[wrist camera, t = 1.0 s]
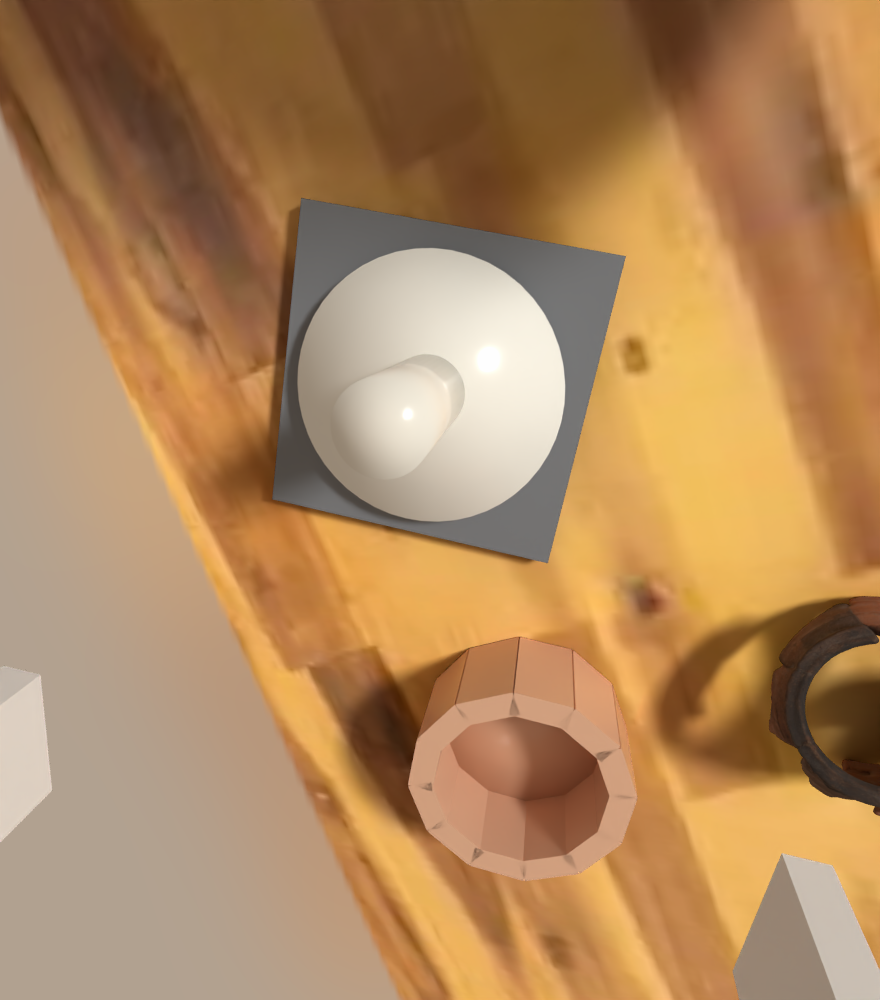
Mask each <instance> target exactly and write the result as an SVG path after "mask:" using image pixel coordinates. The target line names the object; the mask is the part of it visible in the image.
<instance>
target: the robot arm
mask: <svg viewBox="0 0 880 1000" xmlns="http://www.w3.org/2000/svg"><path fill="white" fill-rule="evenodd" d="M51 791H52V784H51V774H50V764H49V755H48V744H47V734H46V724H45V715H44V705H43V695H42V685H41V675H40V674H35V673H31V672H28V671H23V670H19V669H15V668H11V667H6V666H2V667H1V668H0V842H1V841H2V840H3V839H4V838H5V837H6V836H7V835H8V834H9V833H10V832H11V831H12V830H13V829H14V828H15V827H16V826H17V825H18V824H19V823H20V822H21V821H22V820H23V819H24V818H25V817H26V816H27V815H28V814H29V813H30V812H31V811H32V810H33V809H34V808H35V807H36V806H37V805H38V804H39V803H40V802H41V801H42V800H43V799H44V798H45V797H46V796H47V795H48V794H49V793H50V792H51ZM733 975H734V979H735V983H736V987H737V992H738V996H739V1000H880V970H879V968H878V966H877V963H876V961H875V959H874V957H873V954H872V952H871V950H870V948H869V946H868V943H867V941H866V939H865V937H864V934H863V932H862V930H861V928H860V925H859V923H858V921H857V919H856V917H855V914H854V912H853V910H852V908H851V905H850V903H849V901H848V899H847V896H846V894H845V892H844V890H843V888H842V885H841V883H840V881H839V879H838V876H837V874H836V872H835V870H834V867H833V866H832V865H828V864H824V863H820V862H816V861H812V860H807V859H803V858H799V857H795V856H791V855H787V854H783V853H782V854H781V857H780V859H779V861H778V864H777V866H776V869H775V871H774V873H773V876H772V878H771V881H770V883H769V885H768V888H767V890H766V893H765V895H764V897H763V900H762V902H761V905H760V907H759V909H758V912H757V914H756V916H755V919H754V921H753V924H752V926H751V928H750V931H749V933H748V936H747V938H746V940H745V943H744V945H743V948H742V950H741V952H740V955H739V957H738V960H737V962H736V964H735V967H734V969H733Z"/></svg>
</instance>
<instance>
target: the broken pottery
mask: <svg viewBox="0 0 880 1000" xmlns="http://www.w3.org/2000/svg"><path fill="white" fill-rule="evenodd" d="M876 635H878V636H880V597H868V596H862V597H857V598H855V599H850V600H849V605H848V604H838V605H835V606H833V607H832V608H830V609H829V610H827V611H825V612H824V613H822V614H820V615H819V616H818V617H816V618H815V619H814V620H812V621H811V622H810V623H808V624H807V625H806V626H805V627H803V628H802V629H801V630H800V631H799V632H798V633H797V634H796V635H795V636H794V637H793V638H792V639H791V641H790V642H789V643H788V644H787V646H786V647H785V648H784V649H783V651H782V652H781V654H780V656H779V659H780V661H781V663H782V664H783V665H782V667H780V668H779V669H777V670H775V671H774V673H773V678H772V685H771V692H772V695H771V700H772V704H771V717H770V720H769V730H770V732H772V733H773V734H775V735H776V736H777V737H778V738H780V739H781V740H782V741H784V742H786V743H788V744H790V745H792V746H794V747H795V748H797V749H798V751H799V753H800V754H801V756H802V757H803V758H802V760H801V764H802V769H803V771H804V773H805V774H806V775H807V776H808V777H809V782H810V784H811V785H812V786H813V787H815V788H816V789H818V790H819V791H821V792H822V793H824V794H825V795H827V796H829V797H839V798H843V799H850V800H857V801H859V802H862V803H865V804H868V805H872V806H875V808H874V810H873V812H874V813H875V814H876V815H879V816H880V765H878V764H867V763H860V762H856V761H852V760H847V759H845V760H843V762H842V766H843V770H842V769H841V768H839V767H838V766H837V765H835V764H834V763H833V762H832V761H831V760H830V759H829V758H827V757H826V756H825V754H824V753H823V752H822V751H821V750H820V748H819V747H818V746H817V745H816V744H815V742H814V739H813V737H812V735H811V733H810V730H809V728H808V724H807V721H806V715H805V700H806V694H807V691H808V688H809V685H810V683H811V681H812V679H813V677H814V676H815V675H816V673H817V672H818V671H819V670H820V668H821V667H822V666H823V665H824V664H825V663H826V662H828V661H829V660H830V659H831V658H833V657H834V656H836V655H838V654H839V653H842V652H844V651H846V650H849V649H851V648H854V647H858V646H863V645H869V644H876V643H878V642H879V639H878V637H877V636H876Z"/></svg>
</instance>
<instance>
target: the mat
mask: <svg viewBox="0 0 880 1000" xmlns="http://www.w3.org/2000/svg"><path fill="white" fill-rule="evenodd" d="M416 248H437V249H446V250H453V251H457V252H461V253H465V254H469V255H471V256H474V257H476V258H479V259H481V260H483V261H486V262H488V263H490V264H492V265H494V266H495V267H497V268H499V269H501V270H502V271H504V272H506V273H507V274H508V275H509V276H511V277H512V278H513V279H514V280H516V281H517V282H518V283H519V284H521V285H522V286H523V288H524V289H525V290H526V291H527V292H528V293H529V294H530V295H531V296H532V297H533V298H534V300H535V301H536V302H537V304H538V305H539V306H540V308H541V309H542V311H543V312H544V314H545V315H546V317H547V319H548V321H549V323H550V325H551V327H552V328H553V331H554V334H555V336H556V339H557V342H558V344H559V347H560V352H561V356H562V360H563V366H564V376H565V404H564V409H563V415H562V421H561V424H560V428H559V431H558V434H557V437H556V440H555V442H554V444H553V446H552V448H551V450H550V453H549V455H548V456H547V458H546V459H545V461H544V462H543V464H542V466H541V467H540V469H539V470H538V471H537V472H536V474H535V475H534V476H533V477H532V478H531V479H530V481H529V482H528V483H527V484H526V485H525V486H524V487H522V488H521V489H520V490H519V491H518V492H517V493H516V494H515V495H513V496H512V497H510V498H509V499H507V500H506V501H504V502H503V503H501V504H500V505H498V506H496V507H494V508H492V509H490V510H488V511H486V512H483V513H480V514H477V515H474V516H472V517H467V518H463V519H458V520H452V521H440V522H434V521H419V520H413V519H407V518H403V517H399V516H396V515H393V514H389V513H387V512H385V511H383V510H380V509H378V508H376V507H374V506H372V505H370V504H369V503H367V502H365V501H363V500H362V499H360V498H359V497H357V496H356V495H355V494H353V493H352V492H351V491H350V490H348V489H347V488H346V487H345V486H344V485H343V484H342V483H341V482H340V481H339V480H338V479H337V478H336V477H335V476H334V475H333V474H332V473H331V471H330V470H329V469H328V468H327V467H326V465H325V464H324V463H323V461H322V459H321V458H320V456H319V455H318V453H317V452H316V450H315V448H314V446H313V444H312V442H311V440H310V438H309V435H308V433H307V430H306V427H305V424H304V421H303V418H302V414H301V409H300V404H299V397H298V385H297V382H298V364H299V358H300V352H301V348H302V344H303V341H304V338H305V334H306V332H307V329H308V327H309V325H310V323H311V321H312V318H313V316H314V315H315V313H316V311H317V310H318V308H319V307H320V305H321V303H322V302H323V301H324V299H325V298H326V297H327V296H328V294H329V293H330V292H331V291H332V290H333V288H334V287H335V286H337V285H338V284H339V283H340V282H341V281H342V280H343V279H344V278H345V277H346V276H348V275H349V274H351V273H352V272H353V271H355V270H356V269H358V268H359V267H361V266H362V265H364V264H366V263H368V262H370V261H372V260H374V259H376V258H378V257H381V256H384V255H387V254H391V253H394V252H397V251H403V250H409V249H416ZM625 257H626V256H621V255H616V254H610V253H605V252H599V251H594V250H588V249H582V248H577V247H571V246H566V245H560V244H555V243H549V242H543V241H538V240H532V239H527V238H521V237H516V236H510V235H505V234H499V233H493V232H488V231H482V230H477V229H471V228H466V227H460V226H454V225H449V224H443V223H438V222H432V221H427V220H421V219H415V218H410V217H404V216H399V215H393V214H388V213H382V212H376V211H371V210H365V209H360V208H354V207H349V206H343V205H338V204H332V203H326V202H321V201H315V200H310V199H304V198H301V206H300V217H299V227H298V237H297V248H296V258H295V269H294V279H293V289H292V300H291V310H290V321H289V331H288V341H287V352H286V362H285V373H284V383H283V394H282V404H281V414H280V425H279V435H278V446H277V456H276V466H275V477H274V487H273V498H272V499H273V500H278V501H282V502H286V503H291V504H295V505H299V506H304V507H308V508H312V509H317V510H321V511H325V512H329V513H334V514H338V515H342V516H347V517H351V518H355V519H360V520H364V521H368V522H373V523H377V524H381V525H386V526H390V527H394V528H398V529H403V530H407V531H411V532H416V533H420V534H424V535H429V536H433V537H437V538H442V539H446V540H450V541H455V542H459V543H463V544H467V545H472V546H476V547H480V548H485V549H489V550H493V551H498V552H502V553H506V554H511V555H515V556H519V557H524V558H528V559H532V560H536V561H541V562H545V563H548V560H549V556H550V552H551V548H552V544H553V540H554V536H555V532H556V528H557V524H558V520H559V516H560V513H561V509H562V505H563V501H564V497H565V493H566V489H567V485H568V481H569V477H570V473H571V469H572V465H573V461H574V458H575V454H576V450H577V446H578V442H579V438H580V434H581V430H582V426H583V422H584V418H585V414H586V410H587V406H588V403H589V399H590V395H591V391H592V387H593V383H594V379H595V375H596V371H597V367H598V363H599V359H600V355H601V351H602V348H603V344H604V340H605V336H606V332H607V328H608V324H609V320H610V316H611V312H612V308H613V304H614V300H615V296H616V293H617V289H618V285H619V281H620V277H621V273H622V269H623V265H624V261H625Z"/></svg>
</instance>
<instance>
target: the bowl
mask: <svg viewBox="0 0 880 1000" xmlns="http://www.w3.org/2000/svg"><path fill="white" fill-rule="evenodd" d="M408 787H409V790H410V792H411V794H412V797H413V799H414V801H415V804H416V806H417V808H418V811H419V813H420V815H421V818H422V820H423V822H424V825H425V827H426V830H428V832H429V833H430V834H431V835H433V836H434V837H435V838H436V839H437V840H439V841H440V842H441V843H442V844H444V845H445V846H446V847H447V848H449V849H450V850H451V851H452V852H453V853H455V854H456V855H457V856H458V857H460V858H461V859H462V860H463V861H464V862H466V863H467V864H468V865H469V864H470V866H473V867H477V868H480V869H484V870H487V871H491V872H494V873H498V874H501V875H505V876H508V877H512V878H515V879H519V880H522V881H523V880H525V881H529V880H536V879H544V878H552V877H559V876H567V875H575V874H579V873H581V872H583V871H584V870H586V869H587V868H588V867H590V866H591V865H593V864H594V863H595V862H597V861H598V860H600V859H601V858H603V857H604V856H605V855H607V854H608V853H610V852H611V851H612V850H614V849H615V848H617V847H618V846H619V845H621V843H622V841H623V838H624V835H625V833H626V830H627V827H628V824H629V821H630V818H631V815H632V813H633V810H634V807H635V804H636V801H637V791H636V785H635V779H634V772H633V766H632V760H631V753H630V747H629V741H628V734H627V728H626V725H625V722H624V719H623V716H622V713H621V709H620V706H619V703H618V700H617V697H616V694H615V691H614V688H613V685H612V683H611V682H609V681H608V680H607V679H606V678H605V677H604V676H602V675H601V674H600V673H599V672H598V671H597V670H595V669H594V668H593V667H592V666H591V665H590V664H589V663H587V662H586V661H585V660H584V659H583V658H582V657H580V656H579V655H578V654H577V653H576V652H575V651H572V649H567V648H563V647H559V646H555V645H551V644H547V643H543V642H539V641H535V640H531V639H527V638H523V637H520V639H519V637H516V638H512V639H507V640H503V641H499V642H494V643H490V644H486V645H481V646H477V647H473V648H470V649H468V650H467V651H466V652H465V653H463V654H462V655H461V656H460V657H459V658H458V659H457V660H456V661H455V662H454V663H453V664H452V665H451V666H450V667H449V668H448V669H447V670H446V671H445V672H443V673H442V674H441V675H440V676H439V677H438V678H437V679H436V681H435V684H434V687H433V690H432V693H431V697H430V700H429V703H428V706H427V709H426V712H425V716H424V719H423V722H422V725H421V728H420V732H419V735H418V738H417V742H416V747H415V752H414V757H413V762H412V767H411V772H410V777H409V782H408ZM578 872H579V873H578Z"/></svg>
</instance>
